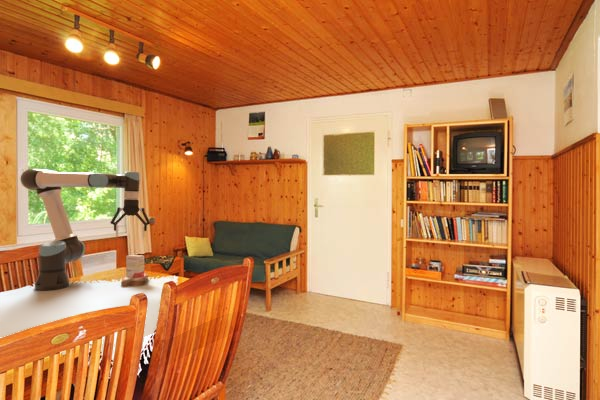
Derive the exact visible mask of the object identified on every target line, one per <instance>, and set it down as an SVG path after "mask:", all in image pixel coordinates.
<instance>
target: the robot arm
mask: <svg viewBox="0 0 600 400" xmlns="http://www.w3.org/2000/svg"><path fill="white" fill-rule="evenodd" d="M140 181H141V179H140V172H138V171H130V170H128V171H127V170H126V171H125V172H124V174H115V173H102V172H58V171H56V170H52V169H43V168H42V169H41V168H29V169H26V170H24V171H23V172H22V173H21V175H20V183H21V185H22V187H24V188H26V189H28V190H30V191H36V195H37V197H39V198H41V200H42V201H43V202H42V203H43V205H44V208H45V210H46V214H47V217H48V220H49V223H50V227H51V228H52V231H53V235H54V237H55V239H54V240H53V241H48V242H43V243H42V244H41V245H40V246H39V247H38V248H39V249H38V275H37V278H36V281H35V283H34V289H35V290H36V289H39V290H38V291H53V290H52V289H55V290H61V289H65V288H67V287H69V286H70V278H69V277H68V274H67V270H66V267H67V266H66V265H67V264H69V263H73V262H77V261H78V260H80V259H81V258H83V256H84V255H85V254H86V253H85V252H86V245H85V243H84V242H83V241H81V240H80V239H79V238H78V235H76V234H75V233H73V230H72V227H71V223H70V221H69V218H68V214H67V211H66V208H65V206H64V203H63V199H62V196H61V193H62V192H63V190H62V188H99V189H101V188H107V189H108V188H109V189H110V188H112V189H124V191H123V193H124V196H123V198H124V200H123V207H120V206H118V207H117V210H116V212H115V213H114V215H113V217H112V219H111V221H110V225H113V231H114V232H115V238H118V237H119V223H120V221H122V220H123V219H124V218H125V216H133V217H134V216H136V217H137V218H138V219H139V220H140V222H141V223H142V224H143V225H142V235H141V236H142V238H144V237H145V233H146V232H147V228H148V227H147V226H148V225H151V221H150V220H149V217H148V215H147V213H146V211H145V210H146V209H145V208H144V207H142V208H141V207H140V204H139V203H140V201H139V198H140ZM139 207H140V208H139ZM122 211H123V212H124V213H122V214H121V216H120V217H119V218H118V219H117V217H118V216H119V214H120V213H121V212H122ZM139 211H140V212H141V213H142V214H143V217H144V218H143V217H142V216H141V215H140V213H138V212H139ZM116 219H117V220H116ZM144 219H145V220H144ZM64 287H65V288H64ZM60 288H61V289H60Z"/></svg>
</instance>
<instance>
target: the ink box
mask: <svg viewBox="0 0 600 400" xmlns="http://www.w3.org/2000/svg"><path fill="white" fill-rule="evenodd" d="M125 256H126V257H125V258H126V259H125V261H126V265H125V266H126V268H125V276H126V277H137V278H140V277H142V276H144V274H145V255H140V254H139V255H138V254H129V255H125Z"/></svg>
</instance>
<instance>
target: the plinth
mask: <svg viewBox="0 0 600 400" xmlns="http://www.w3.org/2000/svg"><path fill="white" fill-rule="evenodd" d="M148 277H149V275H148V274H147V273H144V276H142V277H140V278H137V277H126V275H124V277H123V279H122V280H121V287H134V286H135V285H137V286H145V285H144V284H147V282H148V280H147V279H149V278H148ZM135 287H136V286H135Z"/></svg>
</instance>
